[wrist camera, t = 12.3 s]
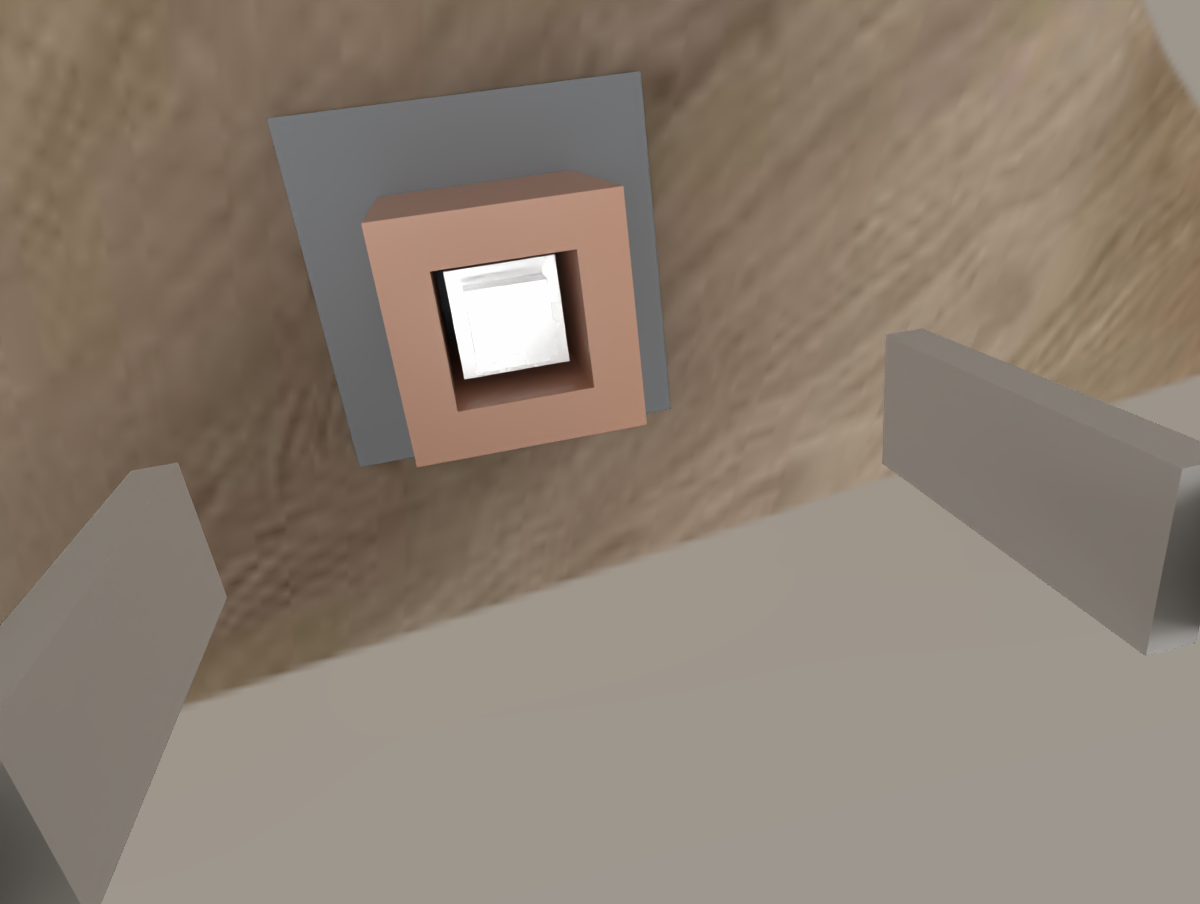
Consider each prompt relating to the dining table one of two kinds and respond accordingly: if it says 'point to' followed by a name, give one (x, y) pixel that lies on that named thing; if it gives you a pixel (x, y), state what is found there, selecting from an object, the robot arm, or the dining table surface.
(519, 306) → the square shaft
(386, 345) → the shaft plate
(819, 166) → the dining table surface
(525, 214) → the square open box
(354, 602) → the dining table surface
